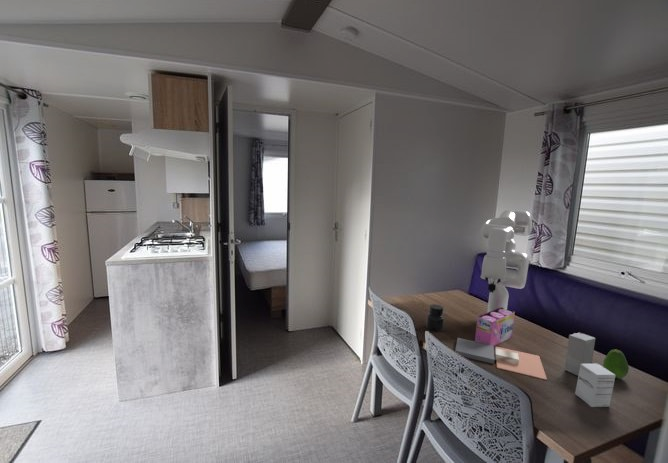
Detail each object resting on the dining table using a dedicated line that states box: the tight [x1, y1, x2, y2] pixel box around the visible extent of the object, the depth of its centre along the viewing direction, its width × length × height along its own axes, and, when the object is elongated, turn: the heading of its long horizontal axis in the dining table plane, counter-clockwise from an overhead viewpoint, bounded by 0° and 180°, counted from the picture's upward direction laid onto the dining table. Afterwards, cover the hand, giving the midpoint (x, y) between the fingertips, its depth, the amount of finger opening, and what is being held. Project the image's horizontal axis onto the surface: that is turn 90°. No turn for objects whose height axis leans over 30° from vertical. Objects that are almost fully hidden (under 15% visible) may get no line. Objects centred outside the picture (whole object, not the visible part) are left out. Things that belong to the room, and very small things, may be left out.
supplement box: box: [574, 362, 616, 408], centre depth 119 cm, size 7×7×13 cm
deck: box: [455, 337, 496, 365], centre depth 151 cm, size 14×16×2 cm
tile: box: [494, 348, 519, 365], centre depth 145 cm, size 9×6×2 cm, turn 65°
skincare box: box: [564, 332, 596, 377], centre depth 137 cm, size 8×7×16 cm
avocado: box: [602, 348, 629, 379], centre depth 134 cm, size 8×8×12 cm
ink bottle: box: [425, 303, 445, 332], centre depth 173 cm, size 10×9×12 cm
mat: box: [494, 345, 548, 381], centre depth 144 cm, size 20×18×1 cm
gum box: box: [474, 308, 515, 347], centre depth 164 cm, size 24×8×14 cm, turn 126°
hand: (491, 291), depth 156 cm, fingers closed
